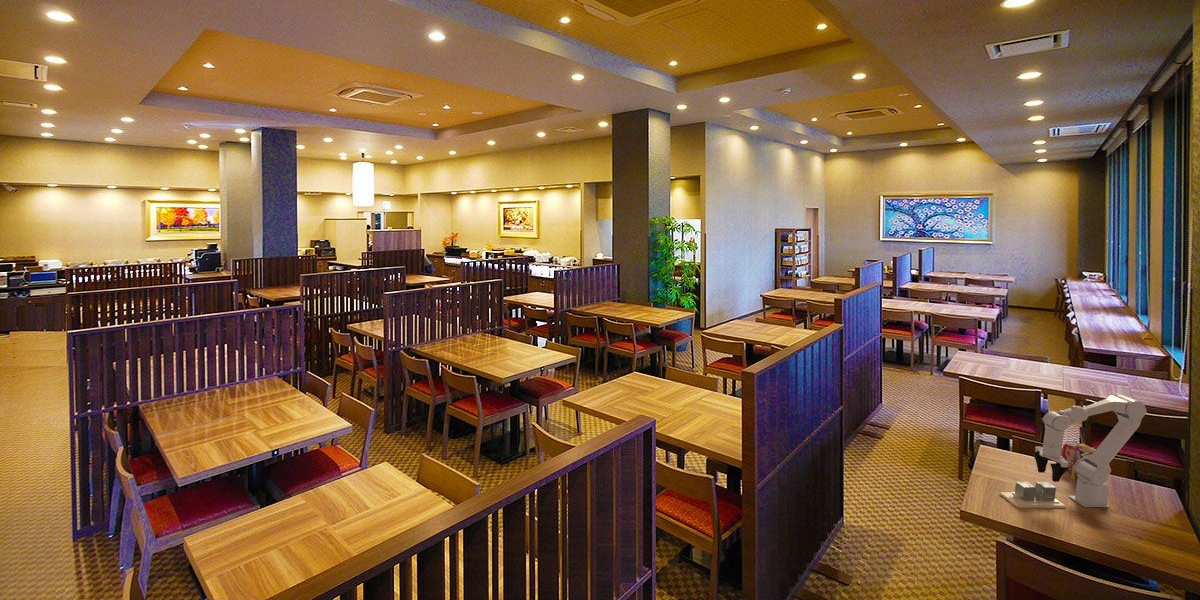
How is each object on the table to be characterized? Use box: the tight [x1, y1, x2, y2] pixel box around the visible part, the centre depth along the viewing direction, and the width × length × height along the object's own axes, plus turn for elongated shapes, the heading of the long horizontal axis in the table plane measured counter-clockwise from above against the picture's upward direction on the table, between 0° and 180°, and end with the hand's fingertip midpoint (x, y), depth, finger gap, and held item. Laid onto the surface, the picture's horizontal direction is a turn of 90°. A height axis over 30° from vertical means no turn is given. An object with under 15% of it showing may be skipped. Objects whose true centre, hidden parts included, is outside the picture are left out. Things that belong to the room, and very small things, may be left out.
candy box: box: [1070, 443, 1098, 482], centre depth 242 cm, size 9×4×15 cm, turn 12°
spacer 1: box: [1014, 481, 1036, 500], centre depth 228 cm, size 4×4×5 cm
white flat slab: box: [1011, 491, 1060, 503], centre depth 229 cm, size 13×7×1 cm, turn 89°
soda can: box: [1061, 440, 1080, 473], centre depth 254 cm, size 7×7×12 cm
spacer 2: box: [1034, 481, 1057, 500], centre depth 228 cm, size 4×4×5 cm
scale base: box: [999, 491, 1066, 509], centre depth 228 cm, size 18×10×1 cm, turn 89°
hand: (1048, 476), depth 227 cm, fingers open, 7 cm apart
